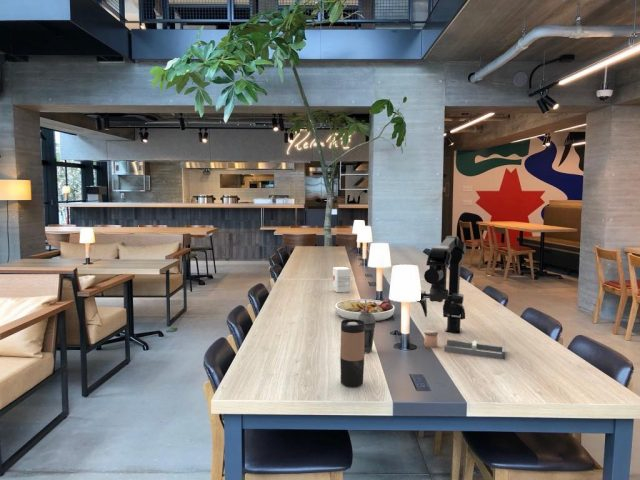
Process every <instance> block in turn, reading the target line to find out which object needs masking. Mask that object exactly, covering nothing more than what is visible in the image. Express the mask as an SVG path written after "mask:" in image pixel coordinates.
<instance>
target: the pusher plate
mask: <svg viewBox="0 0 640 480" xmlns="http://www.w3.org/2000/svg"><path fill="white" fill-rule="evenodd" d="M477 343H478V340H472V348H471V349H476V350H478V349H477Z"/></svg>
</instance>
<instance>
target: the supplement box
mask: <svg viewBox="0 0 640 480" xmlns="http://www.w3.org/2000/svg"><path fill="white" fill-rule="evenodd" d="M333 290H334V291H333ZM332 291H333V292H335V291H336V292H335V293H337V292H343V293H351V268H349V267H346V266H338V267H337V266H334V267H332Z"/></svg>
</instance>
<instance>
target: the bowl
mask: <svg viewBox="0 0 640 480" xmlns="http://www.w3.org/2000/svg"><path fill="white" fill-rule="evenodd" d="M365 300H366V307H367V311H368V312H371V313H372V314H373V315H374V317H375V321H376V322H380V321H384V320H387V319H390V318H391V317H392V316H393V315H394V313H395V308H396V307H395V305H394V304H392V302H391V300H390V299H388V298H385V299H383V300H379V299H378V300H376V299H369V298H366V299H365V298H364V299H363V298H362V299H361V298H360V299H359V298H357V299H356V298H355V299H346V300H342V301H338V302H336V304H335V305H334V308H335V312H336V313H337V314H338V316H340V318H341V317H342V318H343V319H345V320H347V319H357V320H358V317H359V315H360V314H361V313H362V312H365Z"/></svg>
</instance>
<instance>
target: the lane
mask: <svg viewBox="0 0 640 480" xmlns="http://www.w3.org/2000/svg"><path fill="white" fill-rule="evenodd" d="M472 343H473V341H472V342H469V341H464V340H463V341H462V340H455V339H446V344H445V345H444V346H443V347H444V348H443V350H444V352H447V353H453V354H461V355H469V356H477V357H482V358H483V357H484V358H490V359H498V360H506V350H507V348H506V347H507V344H505V343H502V345H497V344H496V345H495V344H486V343H479V342H477V350H476V349H472Z"/></svg>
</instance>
